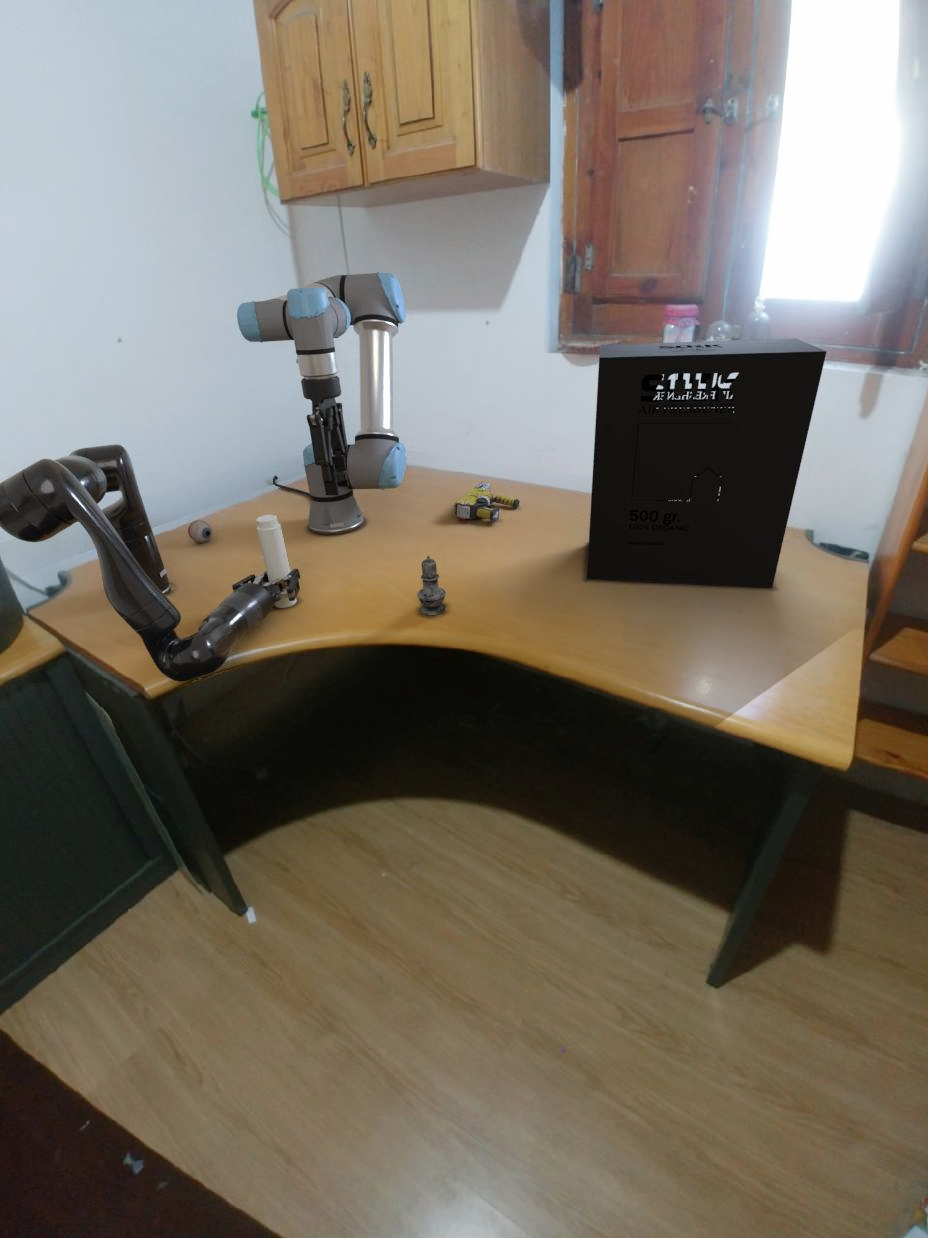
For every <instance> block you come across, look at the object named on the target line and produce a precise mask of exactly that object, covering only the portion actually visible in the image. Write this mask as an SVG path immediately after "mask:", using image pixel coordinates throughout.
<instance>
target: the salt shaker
mask: <svg viewBox="0 0 928 1238" xmlns="http://www.w3.org/2000/svg"><path fill="white" fill-rule="evenodd" d="M437 570H438V569H437V562H436V560H434V559H432V558H431V557H430V555H427V556H426V559H424V560H423V561H422V562H421V572H422V573H421V576H420V579H421V580H422V588H421V589H419V590H418V592H417V594H416V597H417V598H418V600H419V602H420V604H421V606H420V607H419V612H420V613H421V614H423V615H427V616H436V615H440V614H442V613H443V612H445V611H446V605H445V604H444V603H443V602H444V600H445V596H446V595H447V591H446V590H445V589H444V588H442V587H439V578H440V575H439V573H438V571H437Z"/></svg>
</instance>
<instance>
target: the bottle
mask: <svg viewBox="0 0 928 1238" xmlns="http://www.w3.org/2000/svg"><path fill="white" fill-rule="evenodd" d="M255 522H256V524H257V525H256V528H255V529H256V532H257V537H258V541H259V545H260V549H261V553H262V558H263V563H264V567H265V572H266V571H267V575H268V579H269V582H271V581H273V580H275V579H277V578H281V579H282V578H284V577H286V576H287V575H288V574H289V573H290V572H291V571H292V570H291V567H290V563H289V558H288V554H287V553H288V552H287V548H286V544H285V539H284V534H283V530H282V525H281V522H279V519H278V516H277V515H275V514H263V515H261V516H258V517H257V518H256V520H255ZM286 585H287V582H285V586H286ZM297 602H298V599H297V597H296V598H295V600H294V601H289V598H281V600H279V601H277V602H275V603H274V605H273V606H274V607H276V608H279V609H287V608H290V607H292V606H294V605H296V603H297Z"/></svg>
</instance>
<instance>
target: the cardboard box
mask: <svg viewBox="0 0 928 1238" xmlns="http://www.w3.org/2000/svg"><path fill="white" fill-rule="evenodd" d="M827 352H828V351H827V350H824V349H822V348H820V347H818V346H815V345H813V344H811V343H808V342H806V341H802V340H801V339H799V338H768V339H766V338H765V339H737V340H736V339H735V340H709V341H708V340H707V341H705V340H703V341H675V342H672V341H671V342H648V343H647V342H646V343H645V342H644V343H643V342H642V343H616V344H615V343H614V344H612V343H611V344H600V348H599V355H598V356H599V358H598V370H597V371H598V372H597V390H596V391H597V392H596V409H595V410H596V411H595V426H594V445H593V459H592V460H593V461H592V462H593V463H592V479H591V497H590V515H589V532H588V533H589V535H588V547H587V548H588V549H587V568H586V580H588V581H611V582H635V583H655V584H657V583H658V584H675V585H676V584H679V585H698V586H699V585H703V586H725V587H743V588H744V587H745V588H746V587H747V588H768V589H773V586H774V582H775V578H776V573H777V569H778V565H779V560H780V555H781V550H782V548H783V543H784V540H785V539H784V538H785V534H786V530H787V525H788V521H789V517H790V513H791V512H790V511H791V509H792V504H793V499H794V496H795V490H796V486H797V483H798V477H799V474H800V469H801V465H802V461H803V456H804V451H805V447H806V444H807V443H806V442H807V439H808V434H809V429H810V425H811V421H812V416H813V412H814V408H815V404H816V400H817V395H818V391H819V387H820V382H821V378H822V373H823V368H824V365H825V360H826V356H827ZM685 374H689V378H688V385H690V388H686V384H687V379H685V378H684V375H685ZM699 374H700V379H699V378H697V375H699ZM715 374H716V380H715V384H714V386H713V383H714V378H715ZM731 374H736V376H735V378H729V377H730V376H731ZM672 375H677V378H676V379H675V380H674V384H673V385H674V387H673V388H671V385H672V379H671V378H670V377H671V376H672ZM719 379H720V381H719ZM700 384H701V385H705V387H704V388H699V385H700ZM719 384H720V385H724V384H729V387H720V386H719ZM659 386H661V387H662V388H658V387H659Z"/></svg>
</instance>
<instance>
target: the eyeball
mask: <svg viewBox="0 0 928 1238" xmlns="http://www.w3.org/2000/svg"><path fill="white" fill-rule="evenodd" d="M187 534H188V537H189V538H190V539H191V540H192V541H193V542H196V543H198V544H199V543H201V544H202V543H207V542H208V541H209V540H211V538H212V536H213V527H212V526H211V524H210V523H209V522H207V521H205V520H201V519H197V520H193V521H192V522H191V523H190V524H189V525H188V527H187Z"/></svg>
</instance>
